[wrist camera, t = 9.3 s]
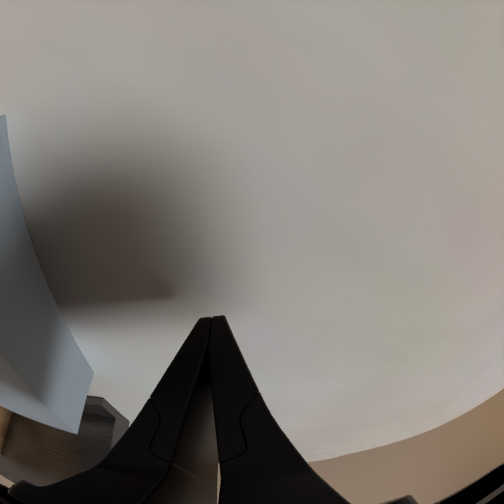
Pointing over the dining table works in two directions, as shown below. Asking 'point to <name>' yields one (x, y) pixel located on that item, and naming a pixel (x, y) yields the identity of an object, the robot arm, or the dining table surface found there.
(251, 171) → the dining table surface
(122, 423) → the bookend
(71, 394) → the boxed book
